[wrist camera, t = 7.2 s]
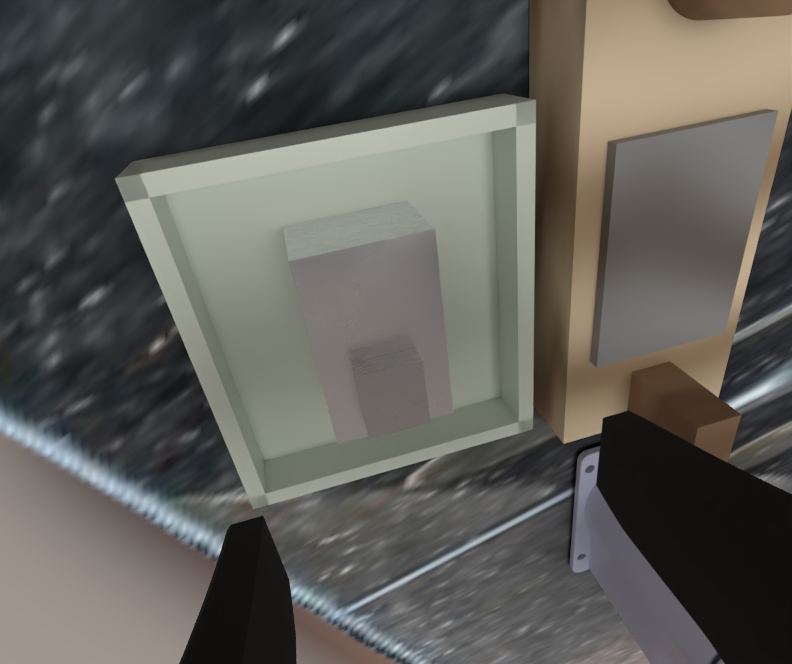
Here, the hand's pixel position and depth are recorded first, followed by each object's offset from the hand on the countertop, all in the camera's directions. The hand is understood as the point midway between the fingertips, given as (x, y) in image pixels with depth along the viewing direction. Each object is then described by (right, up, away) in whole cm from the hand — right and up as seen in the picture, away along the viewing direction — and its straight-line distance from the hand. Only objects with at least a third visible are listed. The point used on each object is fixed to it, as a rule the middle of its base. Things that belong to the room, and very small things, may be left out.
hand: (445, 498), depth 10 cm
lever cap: (-2, +4, +7) cm, 9 cm away
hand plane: (+7, +9, +8) cm, 14 cm away
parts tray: (-2, +4, +8) cm, 9 cm away
